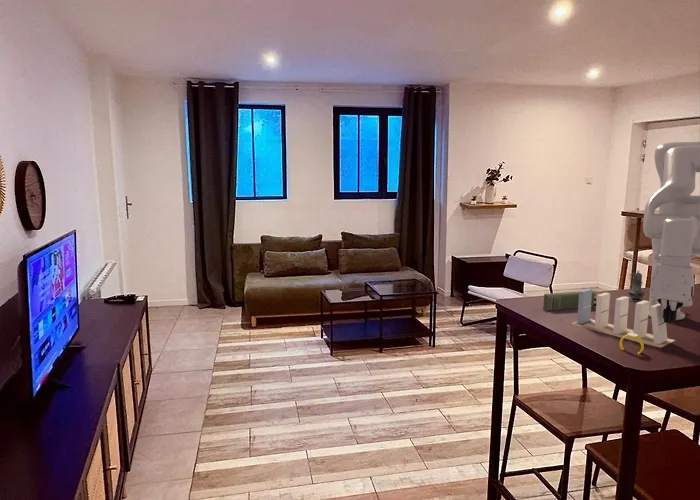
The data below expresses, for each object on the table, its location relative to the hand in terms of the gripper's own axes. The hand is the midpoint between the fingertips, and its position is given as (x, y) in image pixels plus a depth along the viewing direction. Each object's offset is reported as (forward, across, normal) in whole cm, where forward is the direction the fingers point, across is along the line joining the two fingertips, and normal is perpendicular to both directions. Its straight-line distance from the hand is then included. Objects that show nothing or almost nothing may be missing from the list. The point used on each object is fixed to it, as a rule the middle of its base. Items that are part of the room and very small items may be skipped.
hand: (668, 321), depth 147 cm
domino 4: (+7, -8, 0) cm, 10 cm away
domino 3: (+7, -14, 0) cm, 15 cm away
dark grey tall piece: (+8, -28, +43) cm, 52 cm away
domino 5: (+7, -2, 0) cm, 7 cm away
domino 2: (+7, -20, 0) cm, 21 cm away
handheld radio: (+8, -37, +15) cm, 41 cm away
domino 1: (+7, -26, 0) cm, 27 cm away
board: (+8, -14, 0) cm, 16 cm away
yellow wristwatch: (+8, -4, -14) cm, 17 cm away
